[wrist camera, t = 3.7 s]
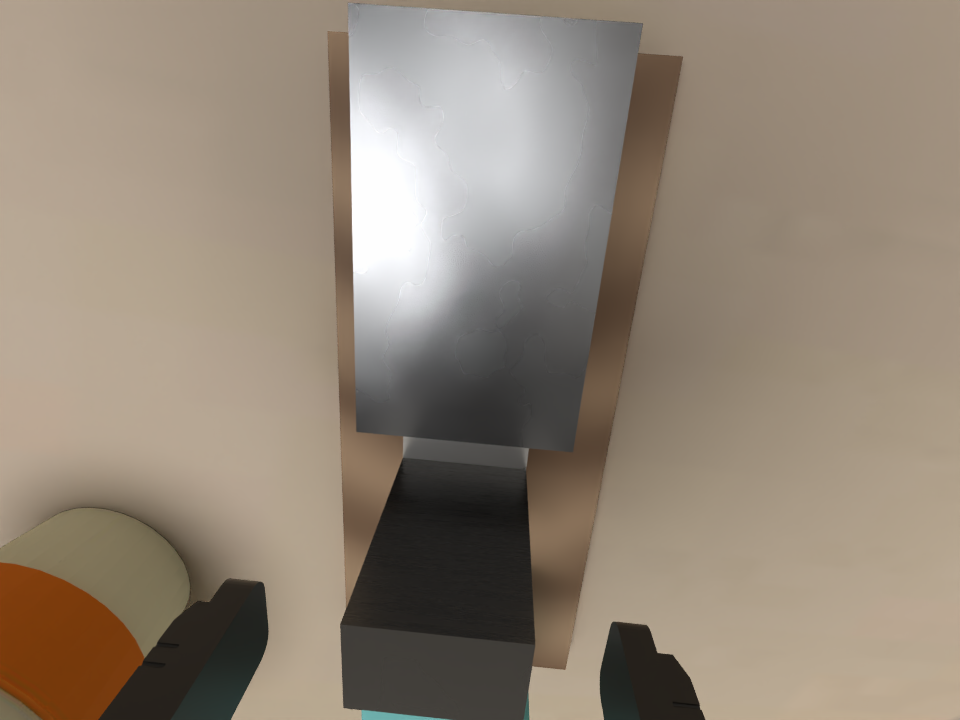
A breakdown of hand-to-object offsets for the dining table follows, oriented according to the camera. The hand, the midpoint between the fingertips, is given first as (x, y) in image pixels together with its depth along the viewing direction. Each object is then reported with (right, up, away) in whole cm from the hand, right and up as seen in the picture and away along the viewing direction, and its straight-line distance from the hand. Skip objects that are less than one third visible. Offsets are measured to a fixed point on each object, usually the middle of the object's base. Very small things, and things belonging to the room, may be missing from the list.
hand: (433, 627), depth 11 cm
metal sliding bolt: (+1, +6, +7) cm, 9 cm away
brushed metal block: (+1, +11, +7) cm, 14 cm away
